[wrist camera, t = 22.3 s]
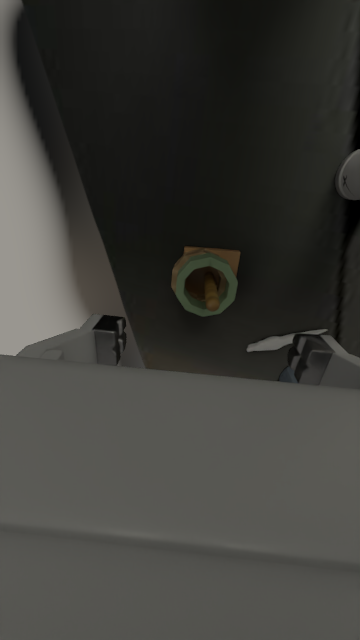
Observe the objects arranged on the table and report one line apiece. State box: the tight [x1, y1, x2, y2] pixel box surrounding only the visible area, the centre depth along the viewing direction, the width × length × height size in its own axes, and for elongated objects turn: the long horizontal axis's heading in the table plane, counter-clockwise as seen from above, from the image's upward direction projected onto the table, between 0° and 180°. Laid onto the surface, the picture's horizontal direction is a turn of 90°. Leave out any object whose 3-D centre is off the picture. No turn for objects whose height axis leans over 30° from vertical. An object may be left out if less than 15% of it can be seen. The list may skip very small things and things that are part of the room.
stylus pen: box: [247, 329, 327, 352], centre depth 46 cm, size 15×3×2 cm, turn 109°
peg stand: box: [184, 246, 241, 312], centre depth 36 cm, size 9×9×14 cm
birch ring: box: [171, 248, 227, 302], centre depth 39 cm, size 9×9×3 cm
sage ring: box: [176, 253, 238, 317], centre depth 37 cm, size 9×9×3 cm
